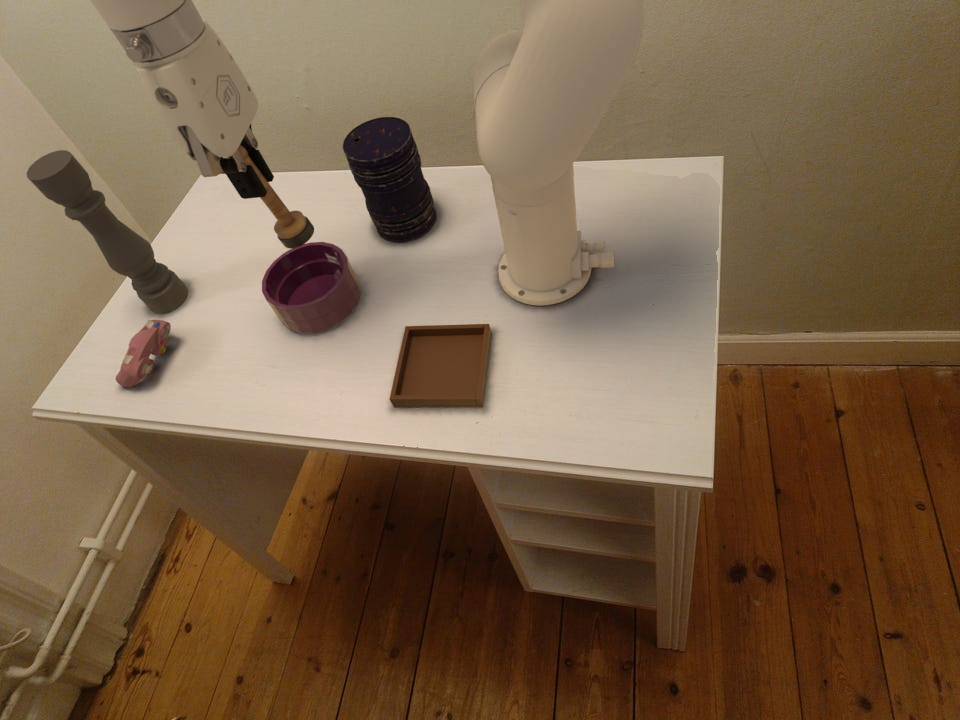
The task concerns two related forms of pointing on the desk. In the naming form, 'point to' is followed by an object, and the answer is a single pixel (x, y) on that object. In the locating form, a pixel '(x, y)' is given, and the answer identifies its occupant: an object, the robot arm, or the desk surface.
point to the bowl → (311, 287)
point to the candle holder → (107, 230)
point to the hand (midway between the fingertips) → (258, 187)
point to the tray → (442, 367)
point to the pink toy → (143, 352)
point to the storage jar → (391, 178)
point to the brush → (282, 213)
